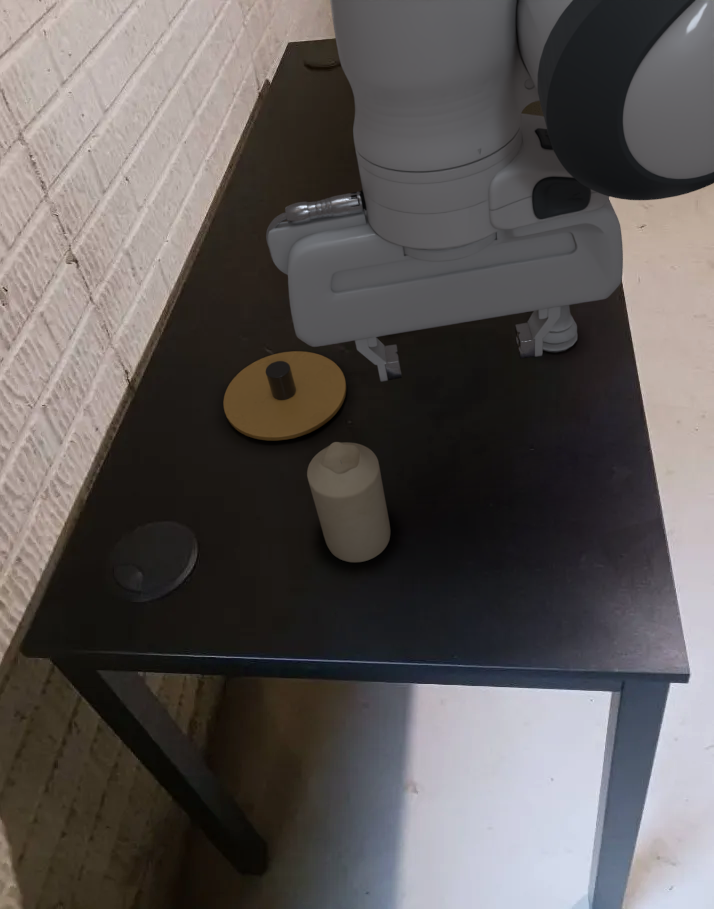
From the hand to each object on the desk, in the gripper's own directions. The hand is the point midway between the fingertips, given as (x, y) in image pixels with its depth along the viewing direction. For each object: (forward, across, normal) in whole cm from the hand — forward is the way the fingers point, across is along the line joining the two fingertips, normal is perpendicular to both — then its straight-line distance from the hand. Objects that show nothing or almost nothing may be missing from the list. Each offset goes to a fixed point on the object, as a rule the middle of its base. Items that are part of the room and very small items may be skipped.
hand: (459, 362), depth 55 cm
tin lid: (+16, -16, +17) cm, 29 cm away
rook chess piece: (+18, +11, +20) cm, 29 cm away
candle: (+17, -10, -1) cm, 20 cm away
